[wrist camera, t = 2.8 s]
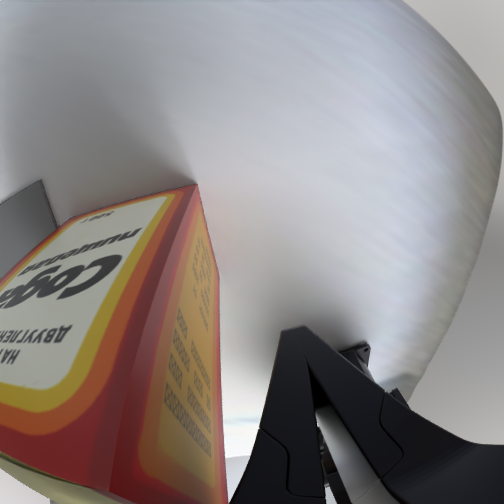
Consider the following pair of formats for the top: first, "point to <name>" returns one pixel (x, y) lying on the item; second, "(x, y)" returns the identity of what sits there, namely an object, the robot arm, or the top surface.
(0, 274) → the mat
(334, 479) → the robot arm
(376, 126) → the top surface
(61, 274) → the baking soda box
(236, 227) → the top surface
